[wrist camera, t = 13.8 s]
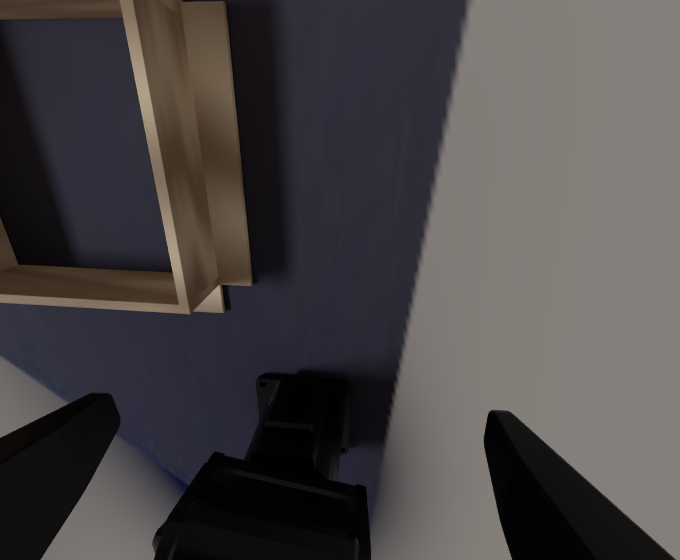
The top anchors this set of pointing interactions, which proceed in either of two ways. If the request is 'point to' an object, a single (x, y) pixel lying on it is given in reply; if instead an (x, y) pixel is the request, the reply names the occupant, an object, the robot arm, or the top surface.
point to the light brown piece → (162, 163)
